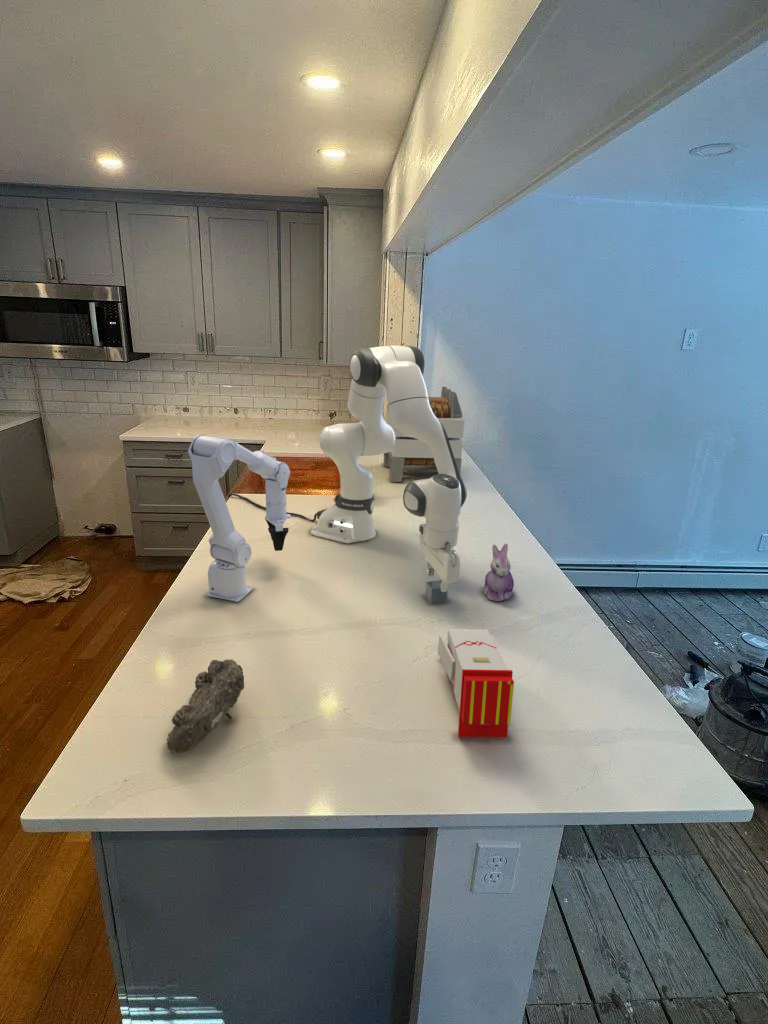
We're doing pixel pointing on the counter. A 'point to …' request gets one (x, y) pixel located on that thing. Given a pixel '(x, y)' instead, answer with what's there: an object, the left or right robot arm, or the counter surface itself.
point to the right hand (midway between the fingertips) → (436, 582)
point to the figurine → (499, 576)
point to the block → (435, 592)
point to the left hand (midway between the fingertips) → (277, 545)
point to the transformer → (416, 450)
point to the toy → (478, 682)
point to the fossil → (206, 705)
